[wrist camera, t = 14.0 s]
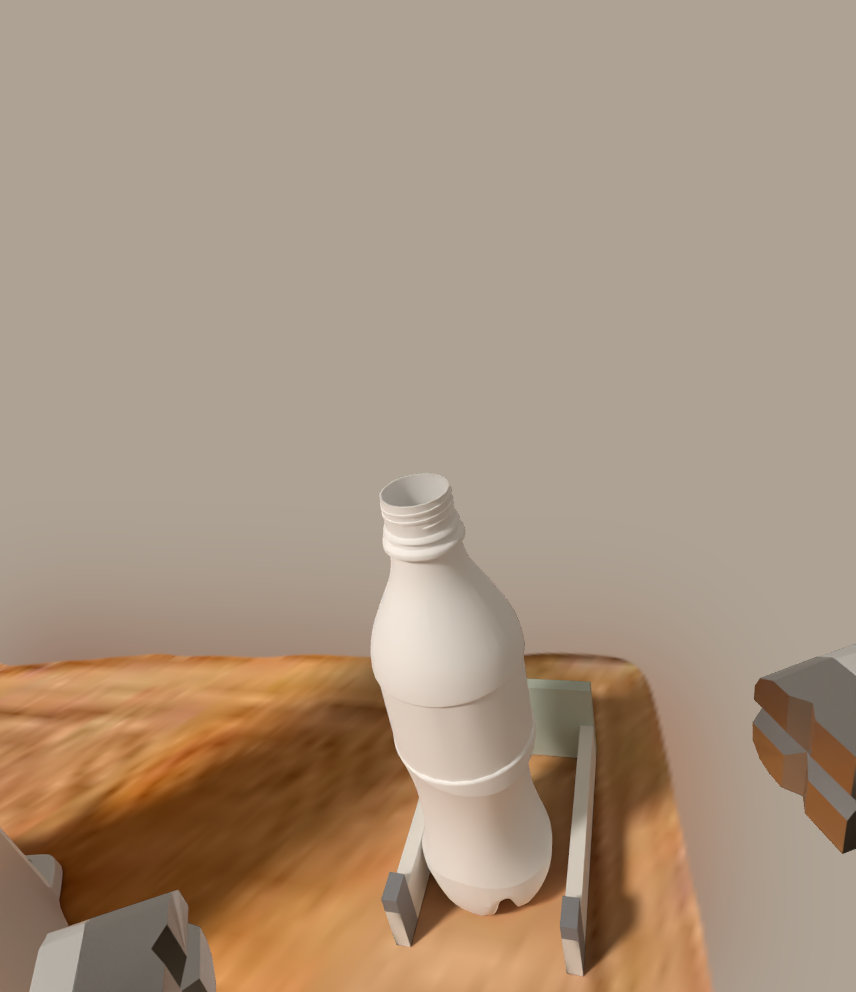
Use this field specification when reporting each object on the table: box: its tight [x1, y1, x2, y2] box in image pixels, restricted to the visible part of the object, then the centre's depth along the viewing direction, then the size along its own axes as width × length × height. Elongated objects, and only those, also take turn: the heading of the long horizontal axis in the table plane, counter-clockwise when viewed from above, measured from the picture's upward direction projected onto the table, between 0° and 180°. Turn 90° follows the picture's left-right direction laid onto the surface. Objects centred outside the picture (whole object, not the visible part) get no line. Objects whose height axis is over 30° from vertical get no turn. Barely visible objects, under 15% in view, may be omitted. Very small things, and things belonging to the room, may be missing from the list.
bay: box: [381, 679, 597, 976], centre depth 41 cm, size 10×14×6 cm
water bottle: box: [370, 473, 552, 916], centre depth 35 cm, size 7×7×25 cm
